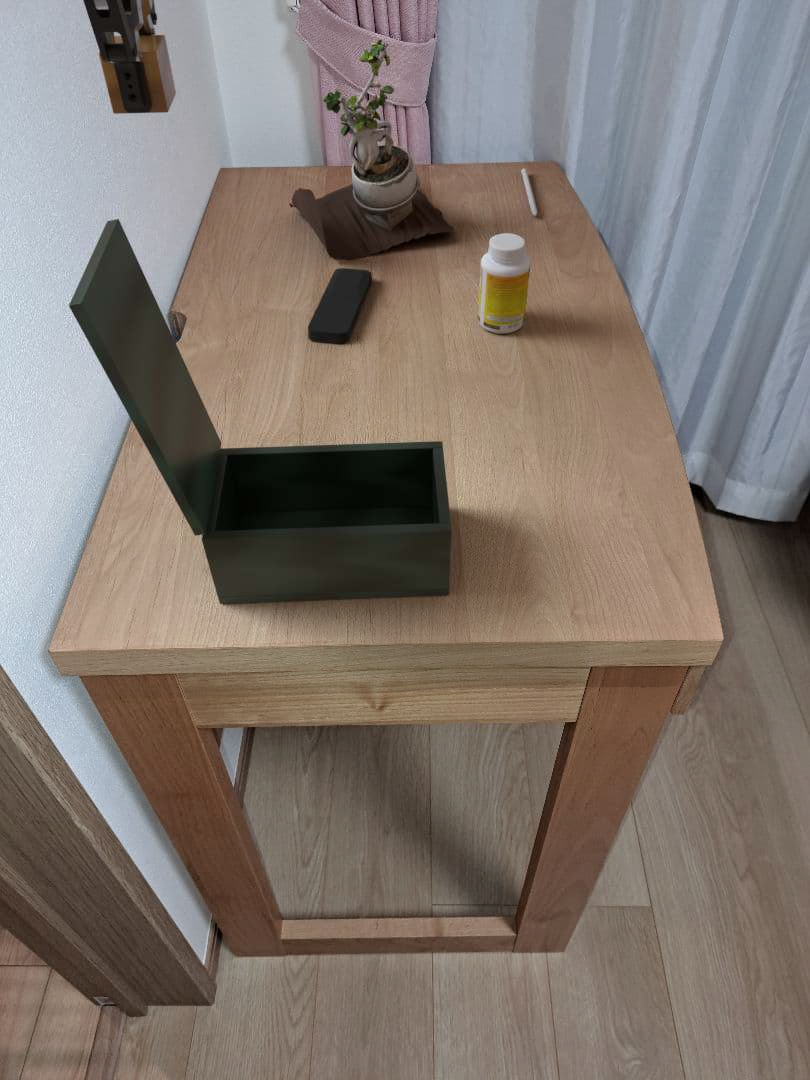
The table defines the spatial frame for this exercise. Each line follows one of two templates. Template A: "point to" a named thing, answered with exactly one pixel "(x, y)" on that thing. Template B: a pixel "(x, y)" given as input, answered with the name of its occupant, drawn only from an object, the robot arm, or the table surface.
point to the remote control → (340, 306)
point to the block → (155, 73)
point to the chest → (329, 522)
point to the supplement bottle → (503, 284)
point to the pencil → (529, 192)
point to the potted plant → (370, 184)
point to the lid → (148, 372)
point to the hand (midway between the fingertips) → (144, 99)
